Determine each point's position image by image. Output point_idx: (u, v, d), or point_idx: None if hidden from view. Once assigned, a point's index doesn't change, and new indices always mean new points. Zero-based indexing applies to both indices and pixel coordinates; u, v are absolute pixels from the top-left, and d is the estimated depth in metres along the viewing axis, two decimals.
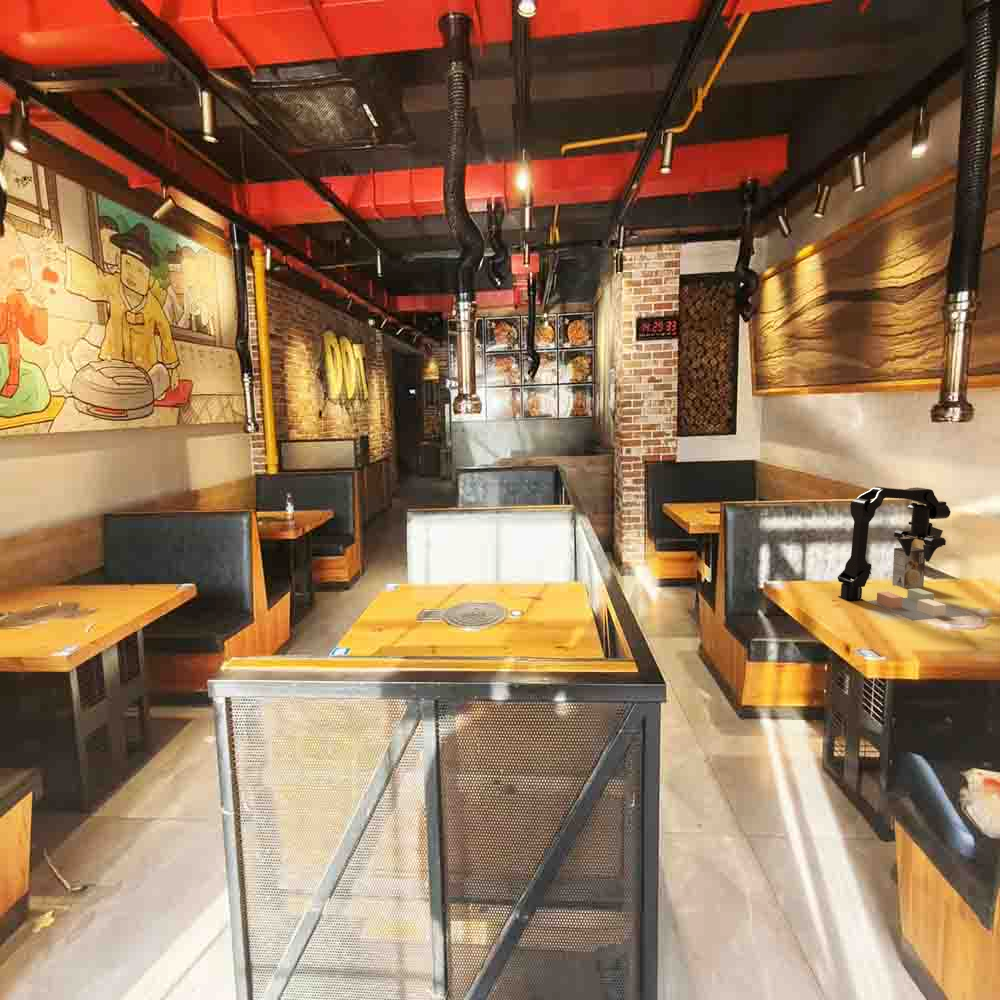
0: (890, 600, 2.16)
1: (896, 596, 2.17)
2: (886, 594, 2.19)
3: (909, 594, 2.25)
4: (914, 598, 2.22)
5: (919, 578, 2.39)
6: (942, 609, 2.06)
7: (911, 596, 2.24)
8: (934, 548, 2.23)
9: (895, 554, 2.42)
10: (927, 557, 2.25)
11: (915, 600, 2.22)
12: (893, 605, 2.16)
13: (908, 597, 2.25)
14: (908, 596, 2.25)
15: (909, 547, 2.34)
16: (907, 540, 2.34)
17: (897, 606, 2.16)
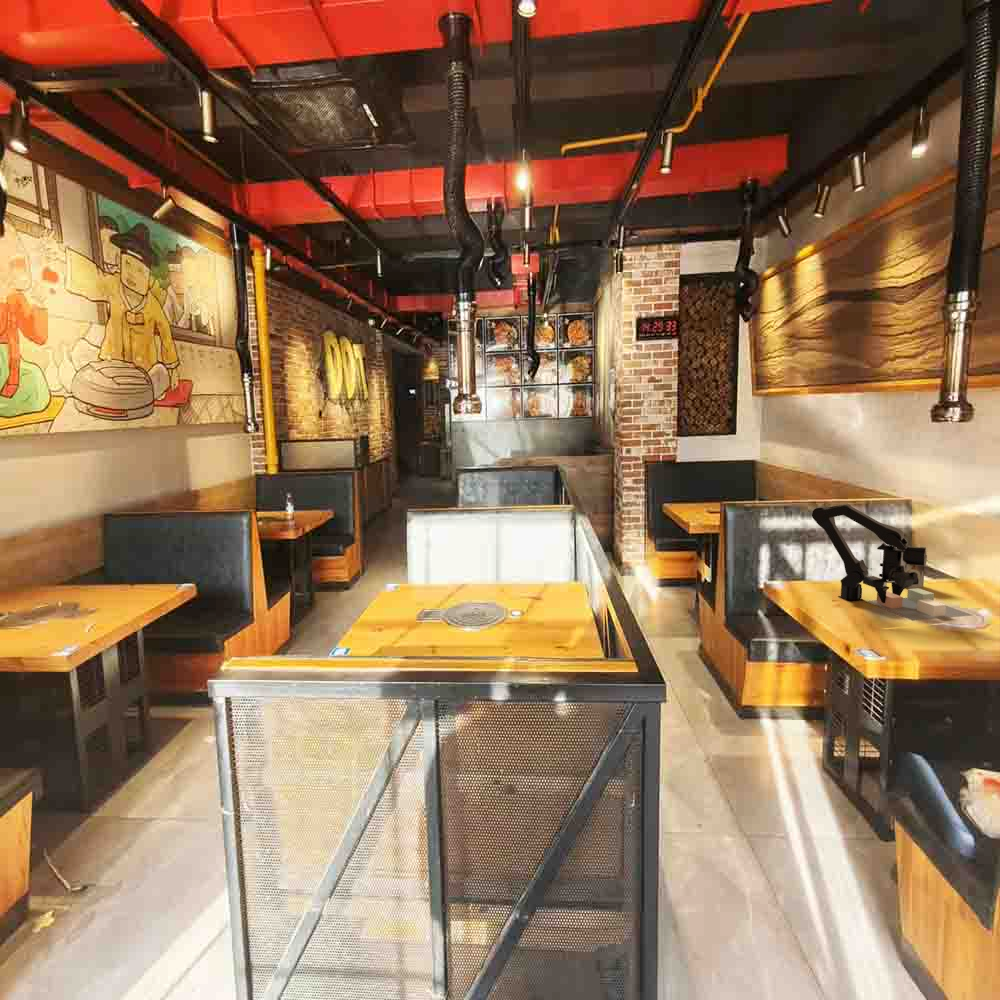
0: (890, 600, 2.16)
1: (896, 596, 2.17)
2: (886, 594, 2.19)
3: (909, 594, 2.25)
4: (914, 598, 2.22)
5: (919, 578, 2.39)
6: (942, 609, 2.06)
7: (911, 596, 2.24)
8: (882, 589, 2.17)
9: None
10: (880, 597, 2.20)
11: (915, 600, 2.22)
12: (893, 605, 2.16)
13: (908, 597, 2.25)
14: (908, 596, 2.25)
15: (896, 593, 2.19)
16: (896, 585, 2.19)
17: (897, 606, 2.16)
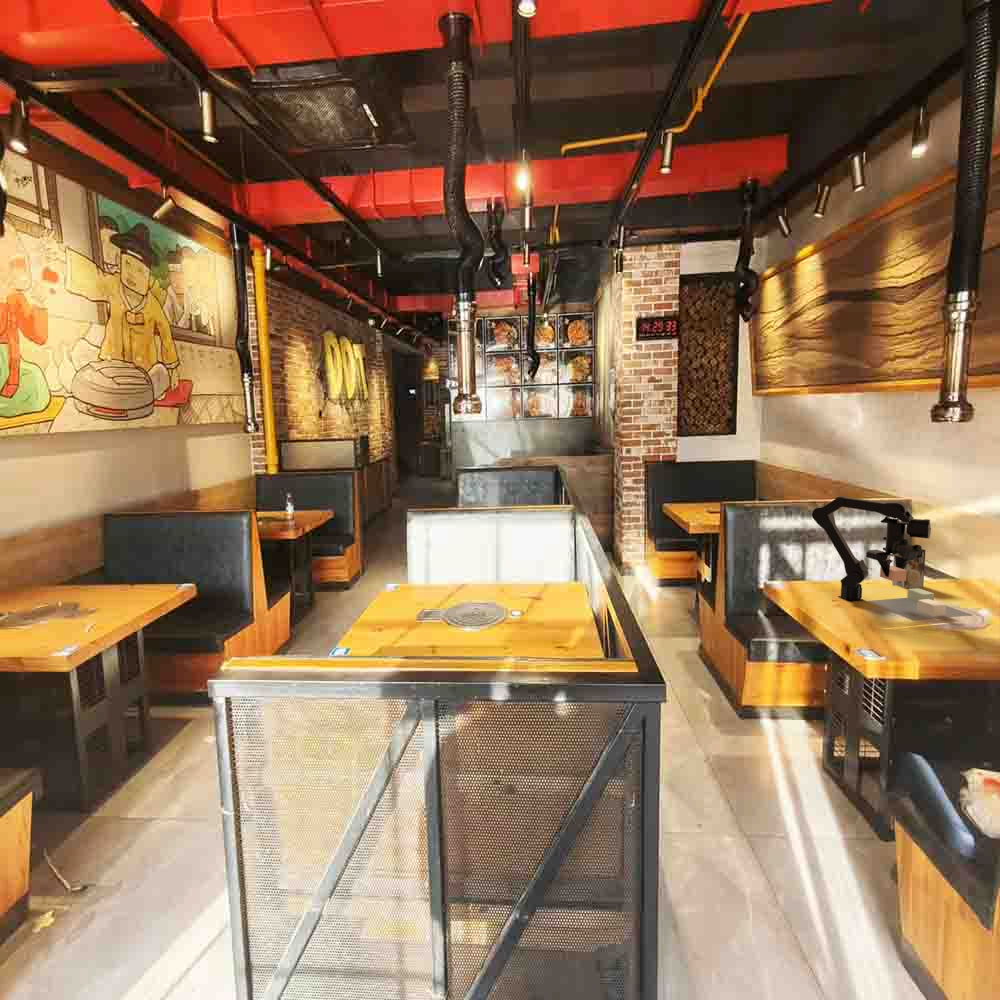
0: (894, 574, 2.14)
1: (900, 569, 2.15)
2: (890, 568, 2.18)
3: (909, 594, 2.25)
4: (914, 598, 2.22)
5: (919, 578, 2.39)
6: (942, 609, 2.06)
7: (911, 596, 2.24)
8: (885, 563, 2.15)
9: None
10: (883, 571, 2.18)
11: (915, 600, 2.22)
12: (896, 579, 2.14)
13: (908, 597, 2.25)
14: (908, 596, 2.25)
15: (900, 566, 2.17)
16: (900, 559, 2.18)
17: (901, 579, 2.14)
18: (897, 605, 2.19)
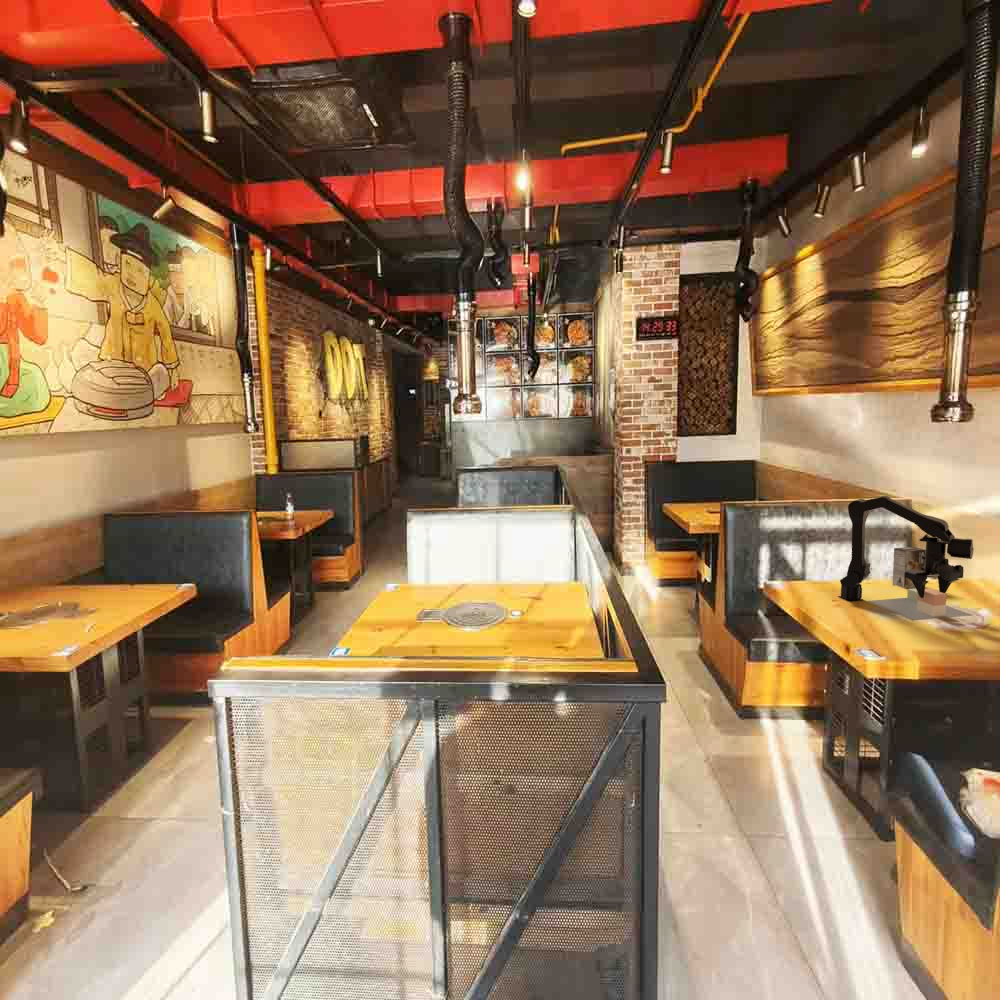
0: (933, 598, 2.06)
1: (939, 593, 2.07)
2: (928, 591, 2.09)
3: (909, 594, 2.25)
4: (914, 598, 2.22)
5: None
6: (942, 609, 2.06)
7: (911, 596, 2.24)
8: (920, 584, 2.07)
9: (895, 554, 2.42)
10: (918, 592, 2.09)
11: (915, 600, 2.22)
12: (936, 603, 2.06)
13: (908, 597, 2.25)
14: (908, 596, 2.25)
15: (944, 587, 2.09)
16: (943, 578, 2.09)
17: (940, 603, 2.06)
18: (897, 605, 2.19)
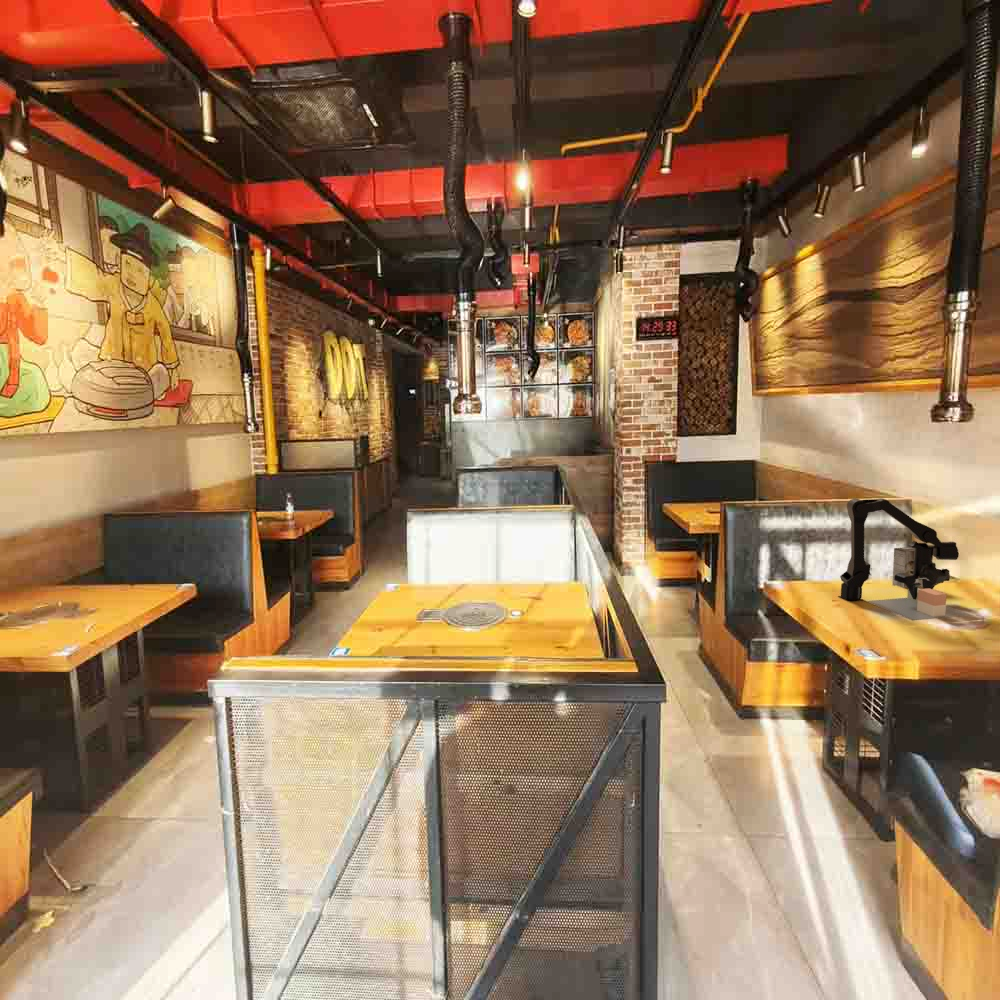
0: (933, 598, 2.06)
1: (939, 593, 2.07)
2: (928, 591, 2.09)
3: (909, 594, 2.25)
4: None
5: None
6: (942, 609, 2.06)
7: (911, 596, 2.24)
8: (913, 586, 2.20)
9: (895, 554, 2.42)
10: (911, 594, 2.23)
11: (915, 600, 2.22)
12: (936, 603, 2.06)
13: (908, 597, 2.25)
14: (908, 596, 2.25)
15: None
16: (927, 582, 2.22)
17: (940, 603, 2.06)
18: (897, 605, 2.19)
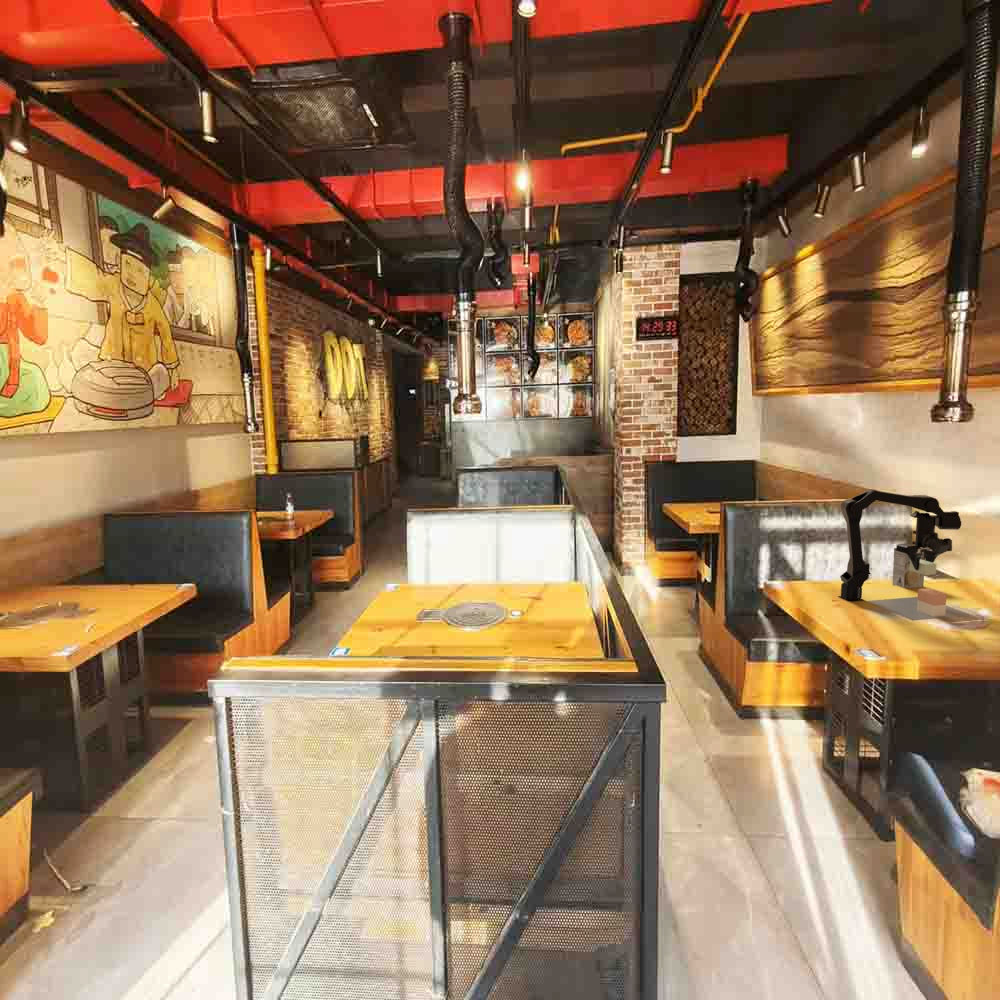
0: (933, 598, 2.06)
1: (939, 593, 2.07)
2: (928, 591, 2.09)
3: (911, 565, 2.23)
4: None
5: (919, 578, 2.39)
6: (942, 609, 2.06)
7: (913, 567, 2.22)
8: (915, 556, 2.18)
9: (895, 554, 2.42)
10: (913, 564, 2.21)
11: (917, 571, 2.20)
12: (936, 603, 2.06)
13: (910, 568, 2.23)
14: (910, 567, 2.23)
15: (930, 560, 2.20)
16: (929, 552, 2.21)
17: (940, 603, 2.06)
18: (897, 605, 2.19)
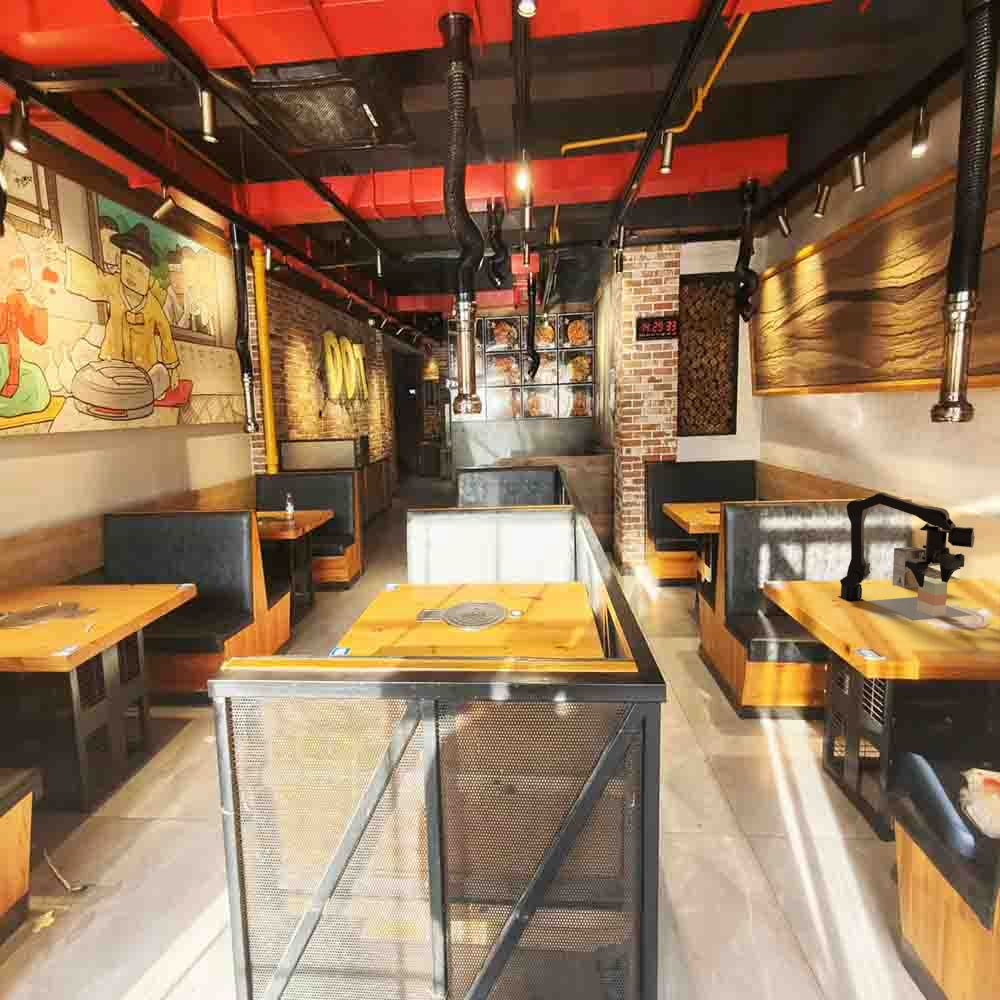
0: (933, 598, 2.06)
1: None
2: None
3: None
4: (926, 588, 2.08)
5: None
6: (942, 609, 2.06)
7: (923, 586, 2.10)
8: (920, 573, 2.06)
9: (895, 554, 2.42)
10: (917, 581, 2.08)
11: (927, 590, 2.08)
12: (936, 603, 2.06)
13: (919, 587, 2.11)
14: (919, 586, 2.11)
15: (946, 576, 2.08)
16: (945, 567, 2.09)
17: (940, 603, 2.06)
18: (897, 605, 2.19)
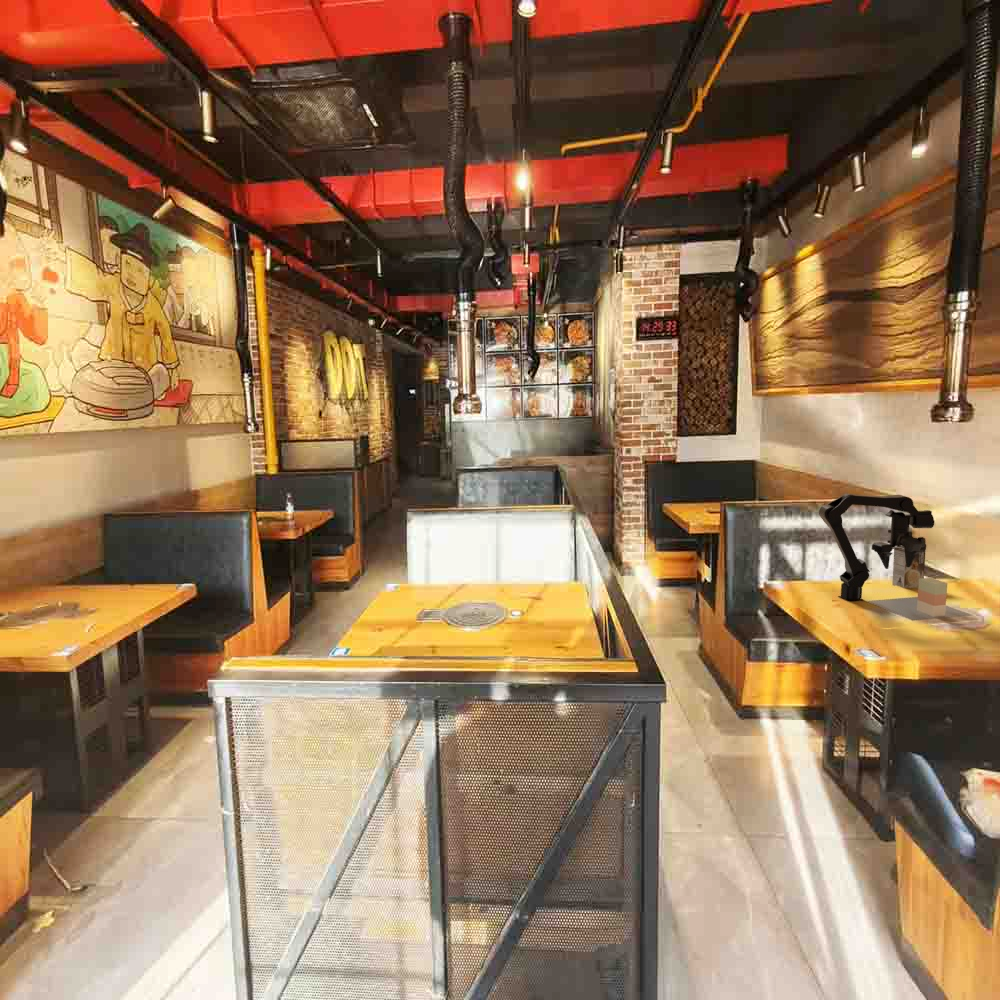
0: (933, 598, 2.06)
1: None
2: None
3: (920, 584, 2.11)
4: (926, 588, 2.08)
5: (919, 578, 2.39)
6: (942, 609, 2.06)
7: (923, 586, 2.10)
8: (885, 555, 2.21)
9: (895, 554, 2.42)
10: (883, 563, 2.24)
11: (927, 590, 2.08)
12: (936, 603, 2.06)
13: (919, 587, 2.11)
14: (919, 586, 2.11)
15: (909, 558, 2.23)
16: (909, 550, 2.24)
17: (940, 603, 2.06)
18: (897, 605, 2.19)
